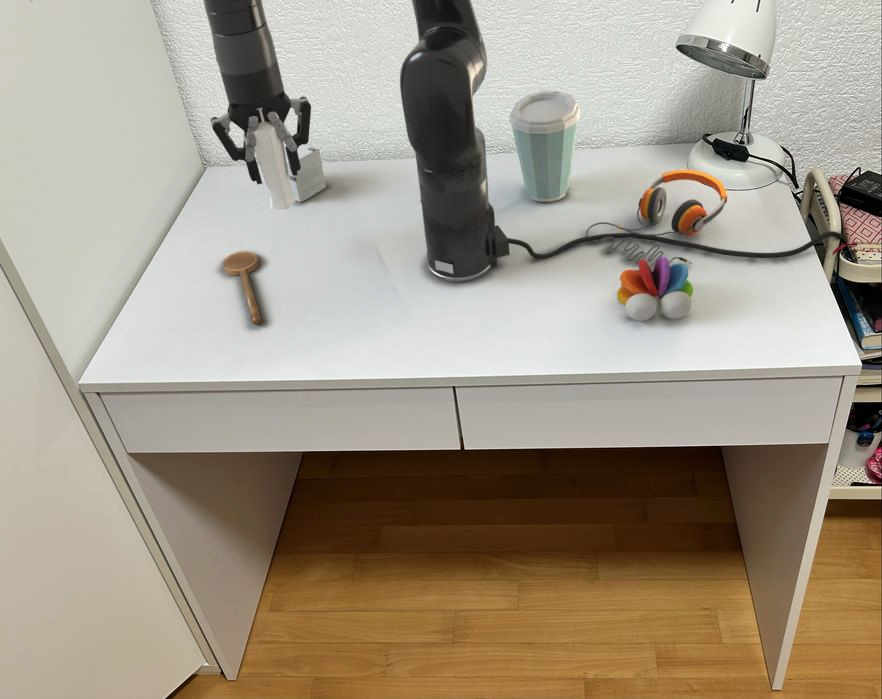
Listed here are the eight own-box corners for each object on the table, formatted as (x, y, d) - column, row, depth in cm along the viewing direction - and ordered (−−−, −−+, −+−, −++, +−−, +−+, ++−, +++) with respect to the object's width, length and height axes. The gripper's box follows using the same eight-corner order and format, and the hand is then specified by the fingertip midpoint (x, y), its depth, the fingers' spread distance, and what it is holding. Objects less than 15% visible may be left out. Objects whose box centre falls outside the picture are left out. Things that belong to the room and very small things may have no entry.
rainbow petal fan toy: (612, 288, 118) (614, 243, 113) (685, 284, 117) (690, 238, 112) (620, 327, 111) (623, 281, 107) (697, 323, 111) (703, 277, 106)
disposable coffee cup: (561, 215, 133) (561, 124, 123) (499, 201, 138) (495, 112, 128) (590, 183, 139) (592, 94, 130) (530, 170, 144) (528, 84, 135)
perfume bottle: (301, 193, 127) (278, 97, 117) (294, 209, 124) (270, 111, 114) (271, 195, 128) (245, 98, 118) (263, 211, 124) (237, 113, 115)
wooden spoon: (222, 260, 132) (220, 254, 131) (255, 252, 132) (254, 245, 132) (239, 331, 118) (237, 324, 117) (276, 321, 119) (275, 314, 118)
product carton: (276, 193, 146) (267, 153, 141) (303, 177, 149) (294, 138, 144) (301, 203, 143) (292, 163, 138) (327, 187, 146) (319, 147, 141)
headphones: (574, 226, 125) (655, 145, 132) (579, 252, 129) (657, 172, 136) (674, 269, 116) (756, 179, 122) (675, 295, 119) (755, 207, 126)
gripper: (195, 82, 108) (230, 202, 119) (306, 57, 111) (331, 176, 122) (189, 62, 114) (223, 178, 125) (295, 39, 116) (320, 154, 127)
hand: (276, 176), depth 123 cm, fingers closed on perfume bottle, 4 cm apart
